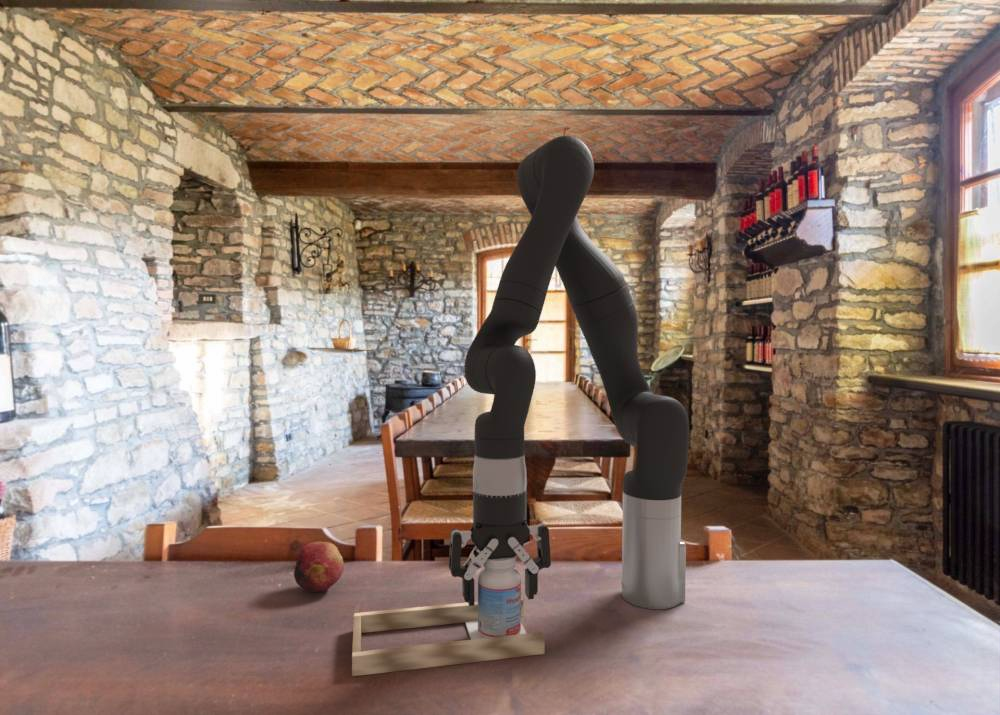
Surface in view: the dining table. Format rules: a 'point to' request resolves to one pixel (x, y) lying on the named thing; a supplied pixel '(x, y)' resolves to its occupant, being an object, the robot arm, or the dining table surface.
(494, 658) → the bay
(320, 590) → the fruit
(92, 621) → the dining table surface
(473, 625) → the front pad
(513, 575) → the pill bottle
